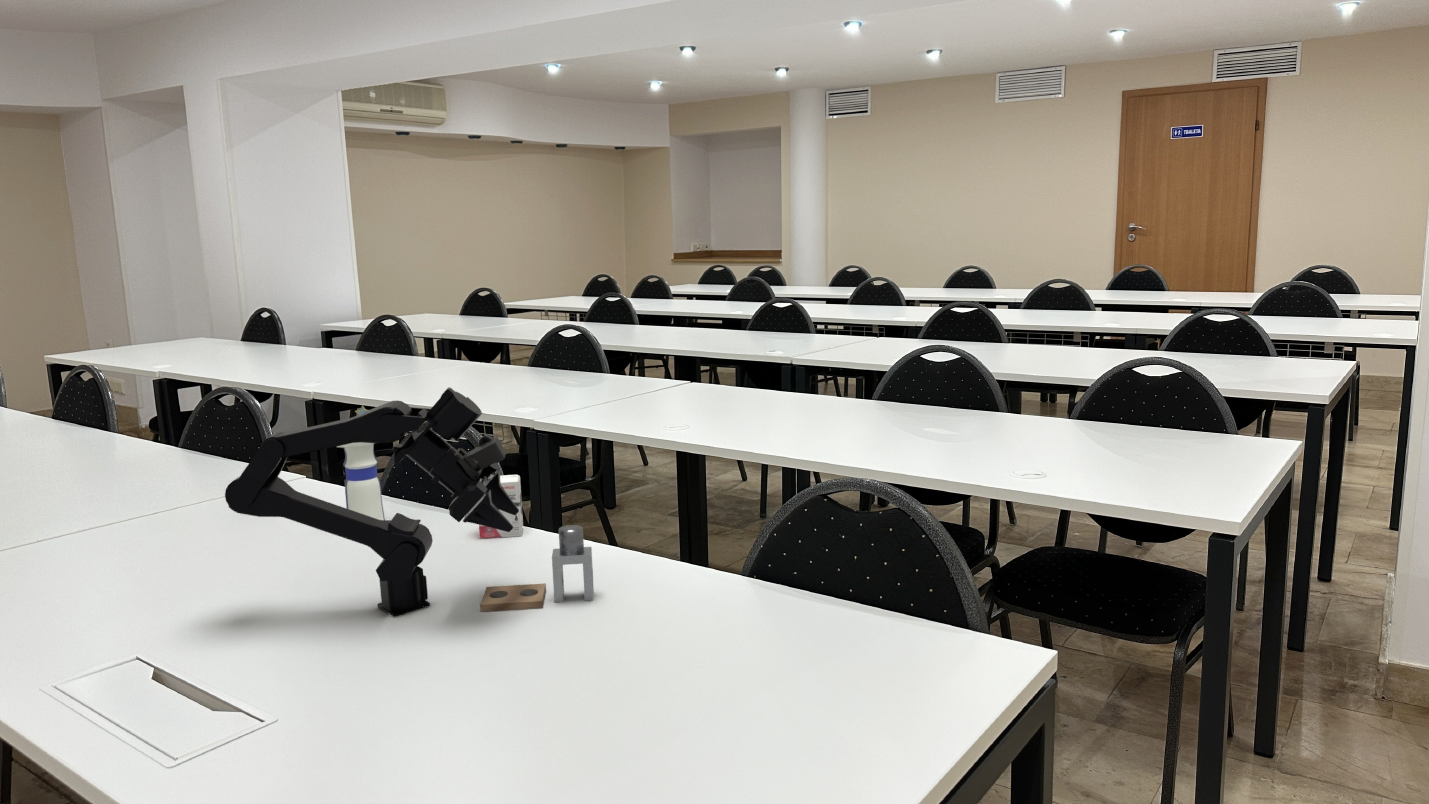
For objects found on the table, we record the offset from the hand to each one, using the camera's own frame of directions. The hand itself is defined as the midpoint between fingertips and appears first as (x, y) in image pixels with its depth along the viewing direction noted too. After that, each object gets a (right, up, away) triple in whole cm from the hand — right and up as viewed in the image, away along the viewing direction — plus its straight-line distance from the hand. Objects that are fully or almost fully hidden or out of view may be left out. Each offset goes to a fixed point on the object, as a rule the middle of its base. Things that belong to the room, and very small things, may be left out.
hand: (514, 521), depth 159 cm
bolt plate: (-1, -14, +2) cm, 14 cm away
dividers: (+9, -13, +3) cm, 17 cm away
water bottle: (-42, -7, +48) cm, 64 cm away
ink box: (-11, -8, +38) cm, 40 cm away
